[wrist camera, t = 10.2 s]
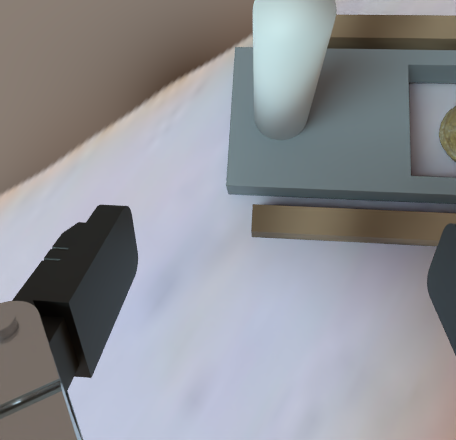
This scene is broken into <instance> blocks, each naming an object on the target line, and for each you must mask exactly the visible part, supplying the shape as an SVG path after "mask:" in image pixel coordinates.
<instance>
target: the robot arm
mask: <svg viewBox="0 0 456 440" xmlns="http://www.w3.org/2000/svg"><path fill="white" fill-rule="evenodd" d="M137 265H138V251H137V245H136V239H135V232H134V226H133V220H132V214H131V210H130V208H129V207H128V206H116V205H99V206H97V208H96V209H95V210H94V212H93V213H92V215H91V216H90V218H89V219H88V221H87V222H86V223H82V222H78V223H77V224H75V225H74V226H72V227H71V228H69V229H68V230H67V231H65V232H64V233H62V234H61V236H60V237H59V238H58V240H57V241H56V243H55V244H54V245H53V247H52V249H50V251H49V252H48V253H47V255H46V256H45V257H44V261H41V263H40V264H39V265H38V267H37V268H36V269H35V271H34V272H33V273H32V275H31V276H30V277H29V279H28V280H27V281H26V283H25V284H24V285H23V287H22V288H21V289H20V291H19V292H18V293H17V295H16V296H15V298H14V299H13V300H12V301H8V302H3V303H0V440H83V437H82V434H81V431H80V428H79V425H78V422H77V418H76V415H75V412H74V409H73V406H72V403H71V400H70V397H69V394H68V391H67V390H68V388H69V386H70V384H71V382H72V379H73V377H74V376H76V377H88V378H91V377H92V375H93V373H94V370H95V368H96V366H97V363H98V361H99V359H100V356H101V354H102V352H103V349H104V347H105V345H106V342H107V340H108V338H109V335H110V333H111V331H112V328H113V326H114V324H115V321H116V319H117V317H118V314H119V312H120V310H121V307H122V305H123V303H124V300H125V298H126V296H127V293H128V291H129V289H130V286H131V284H132V282H133V279H134V277H135V274H136V271H137ZM427 286H428V292H429V296H430V298H431V300H432V303H433V305H434V307H435V309H436V312H437V314H438V316H439V319H440V321H441V323H442V325H443V328H444V330H445V332H446V334H447V337H448V339H449V341H450V344H451V346H452V348H453V350H454V353H455V355H456V224H454V223H449V224H447V225H446V226H445V228H444V229H443V232H442V235H441V237H440V240H439V243H438V246H437V249H436V252H435V254H434V257H433V260H432V263H431V266H430V269H429V272H428V278H427Z"/></svg>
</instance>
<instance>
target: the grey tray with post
mask: <svg viewBox="0 0 456 440" xmlns="http://www.w3.org/2000/svg"><path fill="white" fill-rule="evenodd" d="M335 18H336V3H335V0H255V2H254V5H253V47H235V58H234V74H233V89H232V105H231V120H230V135H229V151H228V166H227V182H226V186H227V190H228V194H235V195H258V196H282V197H305V198H329V199H352V200H376V201H399V202H423V203H447V204H456V178H453V177H426V176H411V158H410V119H409V82H417V83H456V50H396V49H327V47H328V43H329V40H330V36H331V33H332V29H333V25H334V22H335Z"/></svg>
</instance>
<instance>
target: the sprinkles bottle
mask: <svg viewBox="0 0 456 440" xmlns="http://www.w3.org/2000/svg"><path fill="white" fill-rule="evenodd" d="M439 137H440V141H441V144H442V146H443V148H444V149H445V151H446V152H447V154H448V156H450V157H451V158H452V159H453V160H454V161H455V162H456V106H455V107H454V108H453V109H451V110H450V111H449V112H448V113H447V114H446V115H445V117H444V119H443V121H442V122H441V127H440V132H439Z"/></svg>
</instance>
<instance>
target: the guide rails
mask: <svg viewBox="0 0 456 440" xmlns="http://www.w3.org/2000/svg"><path fill="white" fill-rule="evenodd" d="M327 49H396V50H456V16H432V15H336V18H335V22H334V25H333V29H332V33H331V36H330V40H329V43H328V47H327ZM449 223H454V224H456V213H436V212H413V211H391V210H368V209H346V208H323V207H300V206H278V205H255V204H253V210H252V230H251V233H252V237H265V238H284V239H304V240H324V241H344V242H364V243H384V244H403V245H423V246H438V243H439V240H440V237H441V235H442V232H443V229H444V228H445V226H446V225H447V224H449Z"/></svg>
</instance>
